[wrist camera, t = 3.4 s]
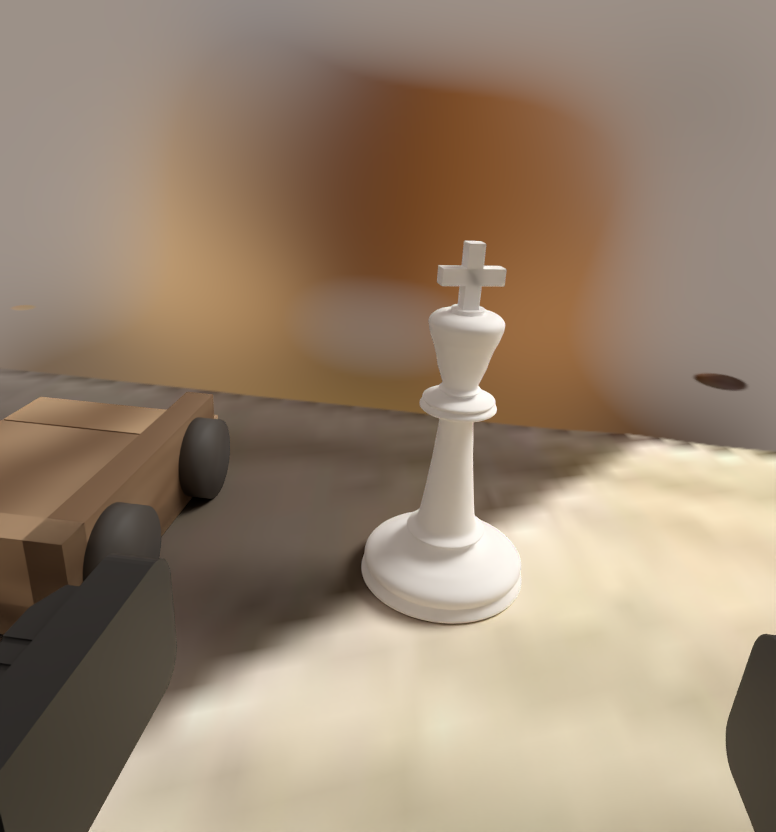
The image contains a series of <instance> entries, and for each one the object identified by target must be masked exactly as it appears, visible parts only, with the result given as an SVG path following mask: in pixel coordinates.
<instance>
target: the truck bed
mask: <svg viewBox="0 0 776 832" xmlns="http://www.w3.org/2000/svg"><path fill="white" fill-rule="evenodd" d="M229 456H230V437H229V431H228V427H227V425H226V423H225V422H224V421H223V420H220V419H218V415H214V407H213V394H203V393H193V392H186V393H185V394H184V395H183V396H182V397H181V398H180V399H178V400H177V401H176V402H175V403H174V404H173V405H172V406H171V407H170V408H168V409H167V410H163V409H153V408H144V407H134V406H124V405H114V404H105V403H95V402H85V401H76V400H66V399H56V398H46V397H39V398H38V399H36V400H34V401H33V402H31V403H29V404H28V405H26V406H25V407H23V408H21V409H20V410H18V411H16V412H15V413H13V414H11V415H10V416H8V417H6V418H5V419H4V420H0V634H5V633H6V632H7V631H8V630H9V628H10V627H11V626H12V625H13V624H14V623H15V622H16V621H17V620H18V619H19V618H20V617H21V616H22V615H23V613H24V612H25V611H26V610H27V609H28V608H29V607H30V606H32V605H34V604H35V603H37V602H39V601H40V600H42V599H44V598H45V597H47V596H49V595H50V594H52V593H54V592H55V591H57V590H58V589H60V588H62V587H63V586H65V585H72V586H80V585H81V584H82V583H83V582H84V581H85V579H86V578H87V577H88V576H89V575H90V574H91V573H92V571H93V570H94V569H95V568H96V567H97V566H98V564H99V563H100V562H101V561H102V560H103V559H104V558H105V557H106V556H107V555H109V554H111V553H118V554H126V555H134V556H142V557H151V558H159V556H160V548H161V537H162V535H163V534H164V533H165V532H166V530H167V529H168V528H169V526H170V525H171V524H172V523H173V521H174V520H175V519H176V517H177V516H178V515H179V514H180V512H181V511H182V510H183V508H184V507H185V506H186V505H187V503H188V502H189V501H190V499H191V498H192V497H200V498H209V499H212V498H215V497H216V496H217V495H218V493H219V492H220V490H221V488H222V486H223V483H224V481H225V477H226V474H227V469H228V464H229Z"/></svg>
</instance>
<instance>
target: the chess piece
mask: <svg viewBox="0 0 776 832" xmlns="http://www.w3.org/2000/svg"><path fill="white" fill-rule="evenodd" d="M485 251H486V244H485V243H483V242H481V241H464V248H463V258H462V266H458V265H439V266H438V277H437V283H439V284H440V285H441V286H460V288H459V299H458V304H455V305H452V307H446V308H441V309H438V310H436V311H435V312H433V313H432V314H431V315H430V317H429V328H430V333H431V337H432V340H433V343H434V346H435V350H436V355H437V363H438V367H439V371H440V374H441V378H442V381H443V382H442V383H441V384H440V385H437V386H433V387H430V388H428V389H427V390H425V391H424V393H423V396H422V398H421V400H420V406H421V408H422V409H423V410H424V411H425V412H426V413H428V414H430V415H432V416H434V417H437V418H440V419H439V425H438V430H437V435H436V440H435V446H434V451H433V455H432V460H431V464H430V469H429V473H428V477H427V482H426V486H425V490H424V494H423V498H422V502H421V506H420V509H418V510H416V511H414V512H410V513H405V514H402V515H399V516H396V517H393V518H391V519H389V520H387V521H385V522H383V523H382V524H381V525H379V526H378V527H377V528H376V529H375V530H374V531H373V532H372V533H371V534H370V536H369V538H368V540H367V542H366V545H365V553H364V556H363V559H362V564H361V570H362V575H363V579H364V581H365V583H366V585H367V586H368V588H369V589H370V591H371V592H372V593H373V594H374V595H375V596H376V597H377V598H378V599H379V600H381V601H382V602H383V603H385V604H386V605H388V606H389V607H391V608H393V609H394V610H396V611H398V612H401V613H403V614H405V615H408V616H411V617H414V618H417V619H421V620H425V621H430V622H437V623H468V622H474V621H479V620H483V619H486V618H489V617H492V616H494V615H496V614H498V613H500V612H502V611H503V610H505V609H506V608H507V607H509V606H510V605H511V604H512V603H513V602H514V600H515V599H516V598H517V596H518V594H519V592H520V588H521V574H520V572H521V559H520V556H519V553H518V551H517V549H516V547H515V546H514V544H513V543H512V542H511V541H510V539H509V538H508V537H507V536H506V535H504V534H503V533H502V532H501V531H499V530H498V529H496V528H495V527H493V526H492V525H490V524H488V523H486V522H484V521H482V520H479V519H478V518H477V517H476V516H475V515H474V496H473V422H478V421H483V420H486V419H489V418H491V417H492V416H494V414H495V413H496V411H497V408H496V405H495V399H494V397H493V396H492V395H490V394H489V393H488V392H486V391H484V390H481V389H480V387H479V386H478V384H479V382H480V381H481V379H482V377H483V375H484V373H485V371H486V369H487V366H488V364H489V361H490V358H491V356H492V354H493V352H494V350H495V348H496V347H497V345H498V344H499V342H500V339H501V337H502V335H503V332H504V329H505V322H504V321H503V319H502V318H501V317H500V316H499V315H497V314H495V313H494V312H491V311H488V310H485V309H484V308H483V307H481V306H479V305H480V296H481V287H482V286H505V278H506V269H505V268H503V267H501V266H484V260H485Z"/></svg>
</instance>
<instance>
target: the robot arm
mask: <svg viewBox="0 0 776 832" xmlns="http://www.w3.org/2000/svg"><path fill="white" fill-rule="evenodd" d="M176 651H177V642H176V630H175V618H174V607H173V595H172V583H171V573H170V568H169V565H168V563H167V561H166V560H164V559H159V558H151V557H142V556H134V555H126V554H118V553H111V554H109V555H107V556H106V557H105V558H104V559H103V560H102V561H101V562H100V563H99V564H98V566H97V567H96V568H95V569H94V570H93V571H92V573H91V574H90V575H89V576H88V577H87V578H86V579H85V581H84V582H83V583H82V584H81V585H80V586H72V585H65V586H63V587H62V588H60V589H58V590H57V591H55V592H54V593H52V594H50V595H49V596H47V597H45V598H44V599H42V600H40V601H39V602H37V603H35V604H34V605H32V606H30V607H29V608H28V609H27V610H26V611H25V612H24V613H23V615H22V616H21V617H20V618H19V619H18V620H17V621H16V622H15V623H14V624H13V625H12V626H11V627H10V628H9V630H8V631H7V632H6V633H5V634H4V635H3V638H2V641H1V642H0V832H88V831H89V829H90V827H91V825H92V824H93V822H94V820H95V818H96V816H97V815H98V813H99V811H100V809H101V807H102V806H103V804H104V802H105V800H106V798H107V796H108V795H109V793H110V791H111V789H112V787H113V786H114V784H115V782H116V780H117V778H118V777H119V775H120V773H121V771H122V769H123V768H124V766H125V764H126V762H127V760H128V758H129V757H130V755H131V753H132V751H133V749H134V748H135V746H136V744H137V742H138V740H139V739H140V737H141V735H142V733H143V731H144V730H145V728H146V726H147V724H148V722H149V721H150V719H151V717H152V715H153V713H154V711H155V710H156V708H157V706H158V704H159V702H160V701H161V699H162V697H163V695H164V693H165V691H166V689H167V687H168V685H169V683H170V680H171V677H172V673H173V670H174V665H175V660H176ZM726 751H727V758H728V763H729V767H730V770H731V773H732V776H733V778H734V781H735V783H736V786H737V788H738V791H739V793H740V796H741V798H742V801H743V803H744V806H745V808H746V811H747V813H748V816H749V818H750V821H751V823H752V826H753V829H754V831H755V832H776V635H770V634H763V635H761V636H759V637H758V638H757V640H756V641H755V643H754V645H753V648H752V650H751V653H750V656H749V659H748V662H747V665H746V668H745V671H744V674H743V677H742V680H741V682H740V685H739V688H738V691H737V694H736V697H735V700H734V703H733V706H732V709H731V712H730V715H729V718H728V721H727V727H726Z"/></svg>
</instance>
